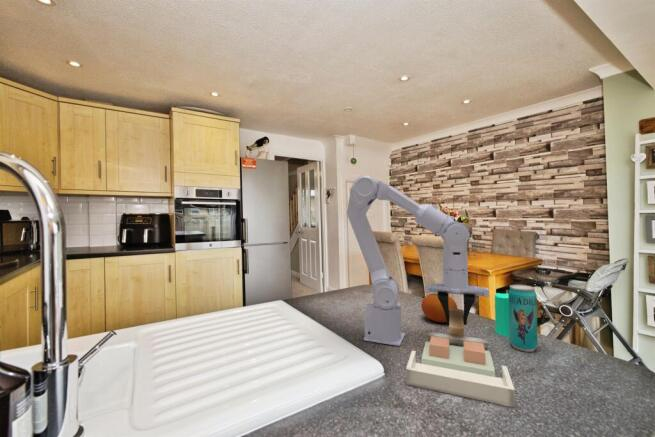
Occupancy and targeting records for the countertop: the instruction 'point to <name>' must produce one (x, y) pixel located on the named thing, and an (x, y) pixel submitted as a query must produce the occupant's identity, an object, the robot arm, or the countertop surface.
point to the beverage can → (523, 317)
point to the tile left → (439, 347)
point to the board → (459, 361)
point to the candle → (502, 314)
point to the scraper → (457, 331)
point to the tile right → (474, 352)
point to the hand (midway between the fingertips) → (456, 322)
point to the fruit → (436, 307)
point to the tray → (461, 382)
